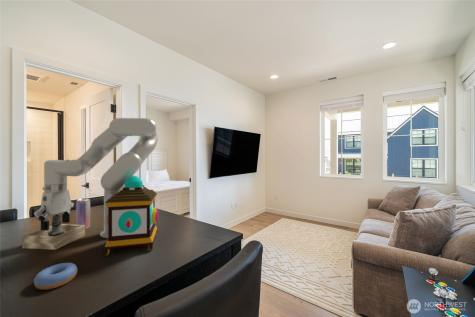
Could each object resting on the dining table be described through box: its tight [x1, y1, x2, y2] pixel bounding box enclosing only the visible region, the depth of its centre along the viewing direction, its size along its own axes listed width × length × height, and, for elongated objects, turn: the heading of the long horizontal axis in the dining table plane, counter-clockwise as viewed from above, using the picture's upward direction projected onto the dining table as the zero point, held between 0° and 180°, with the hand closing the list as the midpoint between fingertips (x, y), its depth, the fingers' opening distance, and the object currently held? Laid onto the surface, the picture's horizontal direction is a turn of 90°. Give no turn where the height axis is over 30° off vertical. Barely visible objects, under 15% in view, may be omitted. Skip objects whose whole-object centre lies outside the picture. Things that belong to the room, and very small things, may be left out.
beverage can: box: [75, 197, 91, 230], centre depth 107 cm, size 6×6×15 cm
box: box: [21, 223, 86, 250], centre depth 90 cm, size 15×15×5 cm
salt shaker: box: [48, 214, 65, 236], centre depth 90 cm, size 6×6×12 cm
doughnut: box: [33, 262, 78, 291], centre depth 62 cm, size 10×10×5 cm
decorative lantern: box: [103, 175, 159, 256], centre depth 87 cm, size 20×20×30 cm
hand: (55, 226), depth 90 cm, fingers open, 9 cm apart
